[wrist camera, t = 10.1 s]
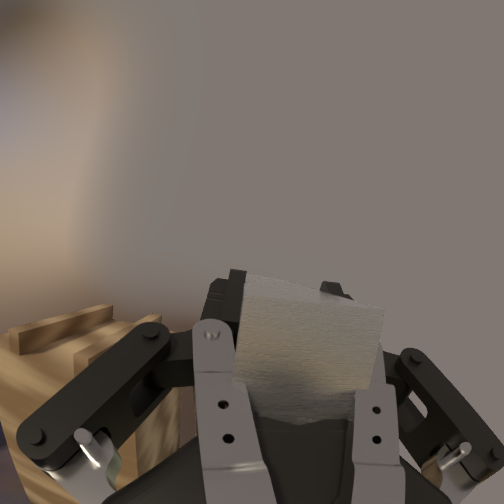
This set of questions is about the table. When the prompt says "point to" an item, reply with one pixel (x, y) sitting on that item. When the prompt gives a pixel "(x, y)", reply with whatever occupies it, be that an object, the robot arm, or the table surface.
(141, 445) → the oak stand
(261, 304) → the steel bar
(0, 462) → the table surface
